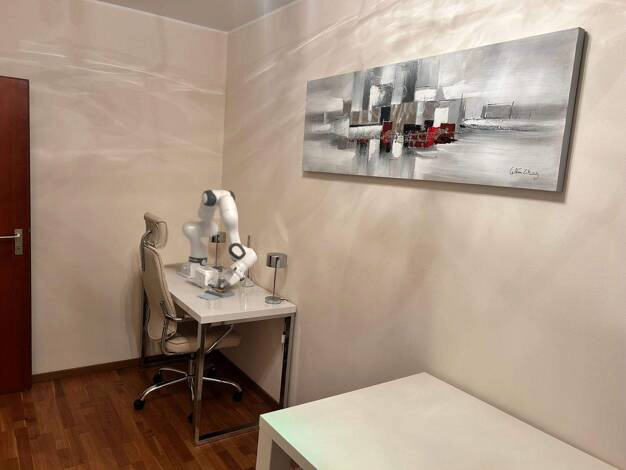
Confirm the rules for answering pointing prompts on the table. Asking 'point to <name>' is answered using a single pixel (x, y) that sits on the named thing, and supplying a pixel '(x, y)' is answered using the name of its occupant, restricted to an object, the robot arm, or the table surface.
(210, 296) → the mat
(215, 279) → the cable organizer
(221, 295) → the socket block
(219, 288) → the plug
